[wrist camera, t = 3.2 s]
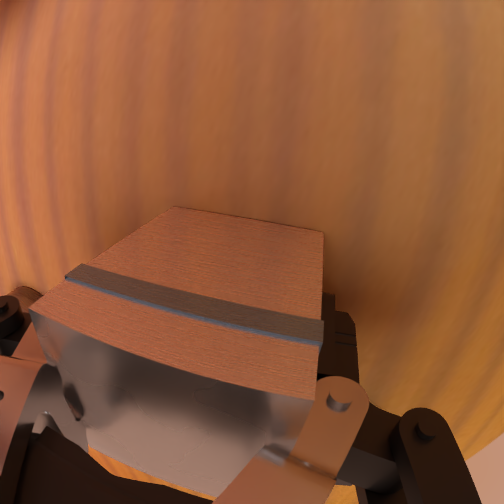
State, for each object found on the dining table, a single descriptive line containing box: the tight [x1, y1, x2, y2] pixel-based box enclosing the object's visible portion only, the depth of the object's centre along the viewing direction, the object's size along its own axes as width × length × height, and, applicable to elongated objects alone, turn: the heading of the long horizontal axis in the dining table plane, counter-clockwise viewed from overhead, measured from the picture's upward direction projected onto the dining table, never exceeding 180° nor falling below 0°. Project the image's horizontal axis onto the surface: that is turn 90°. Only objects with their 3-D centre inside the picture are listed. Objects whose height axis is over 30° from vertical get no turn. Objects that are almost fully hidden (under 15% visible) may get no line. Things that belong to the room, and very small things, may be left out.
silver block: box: [28, 206, 324, 497], centre depth 8 cm, size 5×5×6 cm
